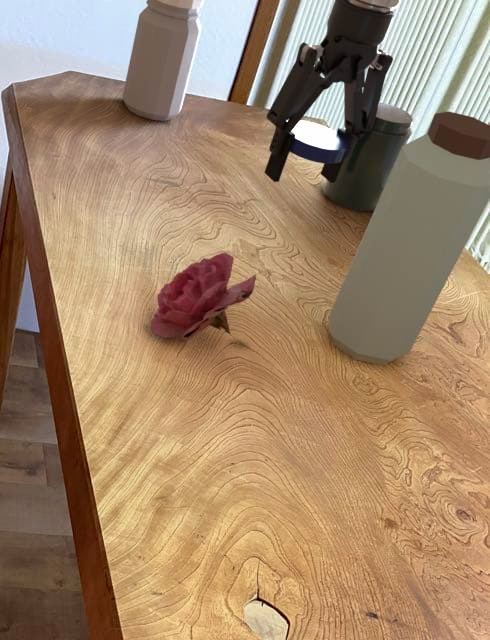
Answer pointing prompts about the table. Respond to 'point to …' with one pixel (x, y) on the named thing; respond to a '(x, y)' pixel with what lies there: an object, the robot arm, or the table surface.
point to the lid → (318, 143)
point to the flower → (199, 299)
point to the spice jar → (371, 160)
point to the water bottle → (413, 239)
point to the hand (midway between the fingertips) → (299, 177)
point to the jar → (162, 58)
